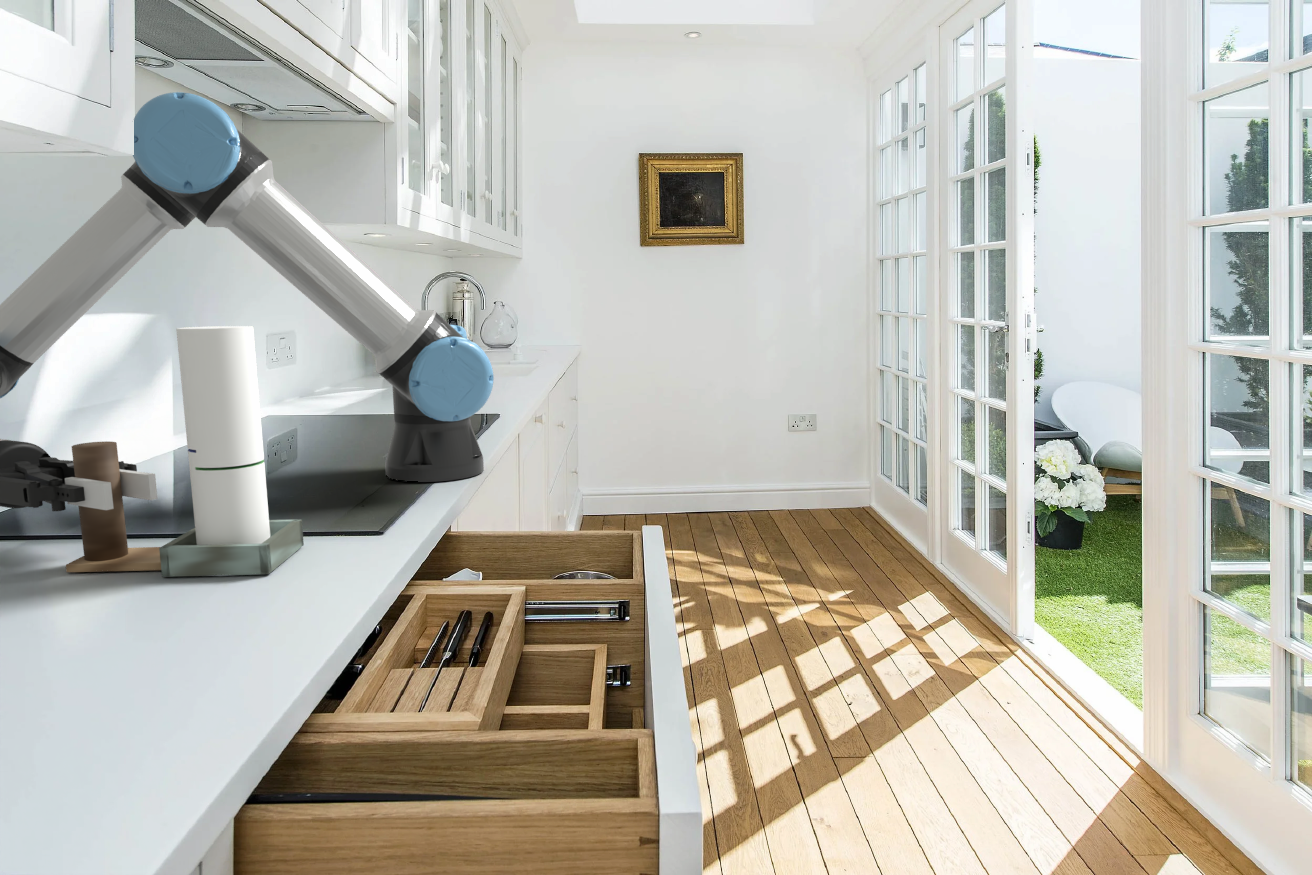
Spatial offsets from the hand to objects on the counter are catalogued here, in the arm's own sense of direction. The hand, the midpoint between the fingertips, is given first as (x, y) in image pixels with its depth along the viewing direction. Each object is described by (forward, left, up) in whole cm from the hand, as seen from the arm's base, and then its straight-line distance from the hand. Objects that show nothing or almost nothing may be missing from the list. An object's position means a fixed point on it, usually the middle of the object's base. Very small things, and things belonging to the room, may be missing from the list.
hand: (130, 491), depth 92 cm
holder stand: (-4, 0, -8) cm, 9 cm away
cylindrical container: (-9, +3, -9) cm, 13 cm away
